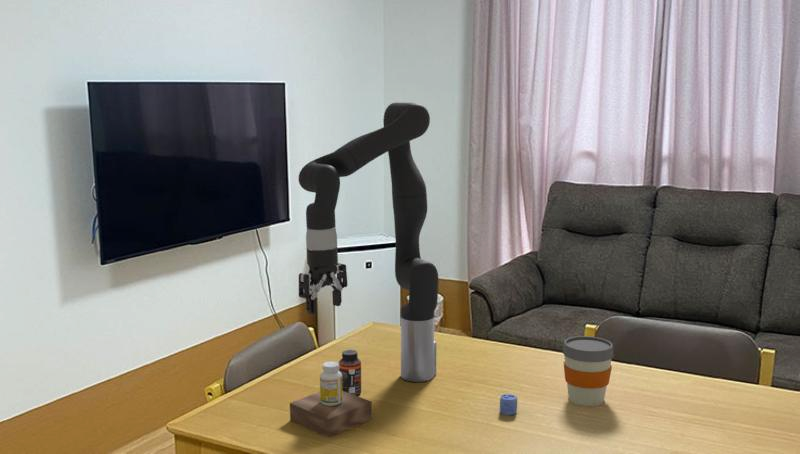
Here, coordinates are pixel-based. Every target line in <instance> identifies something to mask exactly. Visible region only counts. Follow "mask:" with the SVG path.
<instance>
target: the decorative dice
mask: <svg viewBox="0 0 800 454" xmlns="http://www.w3.org/2000/svg"><path fill="white" fill-rule="evenodd" d="M517 411H518V397H517V395H514V394H511V393H503V394H502V395H500V398H499V412H500V413H501V414H502V415H505V416H514V415H516V414H517Z"/></svg>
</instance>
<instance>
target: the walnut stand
mask: <svg viewBox="0 0 800 454" xmlns="http://www.w3.org/2000/svg"><path fill="white" fill-rule="evenodd" d="M370 419H371V420H373V401H372V400H368V399H366V398H363V397H360V396H359V395H356V396H355V395H353V394H350V393H347V392H345V391H342V402H341V403H340V404H338V405H335V406H327V405H323V404H322V403H321V399H320V391H318V392H316V393H313V394H310V395H308V396H304V397H302V398H299V399H297V400H294V401H292V402H289V421H291V422H293V423H295V424H297V425H300V426H301V427H304V428H306V429H308V430H311V431H314V432H316V433H318V434H321V435H323V436H325V437H328V438H331V437H333V436H336V435H338V434H341V433H342V432H345V431H347V429H348V430H350V429H352V428H355V427H356V425H357V426H359V425H361V423H362V424H364V423H366V422H369V421H370ZM368 420H369V421H368ZM363 422H364V423H363ZM354 426H355V427H354ZM349 428H350V429H349Z"/></svg>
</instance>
